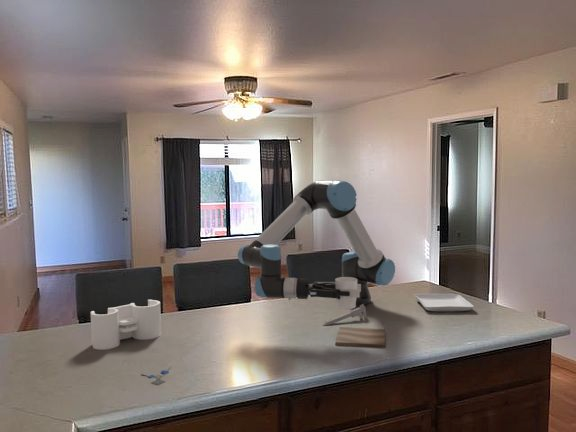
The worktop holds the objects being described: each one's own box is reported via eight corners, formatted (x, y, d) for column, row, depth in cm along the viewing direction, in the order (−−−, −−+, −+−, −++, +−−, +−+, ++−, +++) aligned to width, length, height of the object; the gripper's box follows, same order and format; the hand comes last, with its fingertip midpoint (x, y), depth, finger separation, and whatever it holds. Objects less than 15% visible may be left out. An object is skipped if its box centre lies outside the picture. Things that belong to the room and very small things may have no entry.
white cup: (343, 310, 170) (343, 282, 169) (331, 305, 177) (331, 278, 176) (361, 307, 173) (361, 280, 172) (349, 302, 180) (349, 276, 179)
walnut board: (339, 329, 186) (339, 326, 186) (384, 331, 182) (384, 329, 182) (335, 344, 169) (335, 342, 169) (385, 347, 166) (385, 344, 166)
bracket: (99, 352, 164) (97, 317, 163) (88, 345, 172) (87, 311, 171) (166, 335, 181) (165, 303, 180) (154, 329, 188) (152, 298, 187)
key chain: (164, 386, 138) (164, 383, 138) (134, 388, 137) (134, 385, 137) (172, 367, 152) (172, 364, 152) (145, 368, 151) (145, 365, 151)
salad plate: (475, 313, 206) (475, 305, 205) (424, 314, 206) (425, 306, 206) (458, 300, 227) (458, 293, 226) (412, 301, 227) (412, 293, 227)
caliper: (364, 318, 201) (364, 303, 200) (366, 318, 200) (366, 303, 199) (322, 325, 191) (322, 310, 191) (323, 326, 190) (323, 310, 190)
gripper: (302, 291, 188) (361, 293, 184) (291, 305, 168) (358, 308, 164) (301, 272, 188) (361, 274, 183) (291, 284, 168) (358, 286, 163)
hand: (360, 290), depth 173 cm, fingers closed on white cup, 8 cm apart
